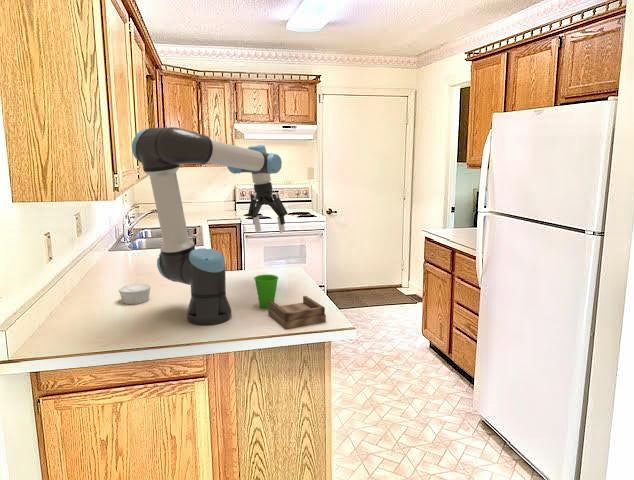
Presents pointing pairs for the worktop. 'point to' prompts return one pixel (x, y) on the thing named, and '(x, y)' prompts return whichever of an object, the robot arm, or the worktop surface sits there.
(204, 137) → the robot arm
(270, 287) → the cup
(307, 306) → the wooden tray
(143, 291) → the ramekin
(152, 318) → the worktop surface
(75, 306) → the worktop surface
